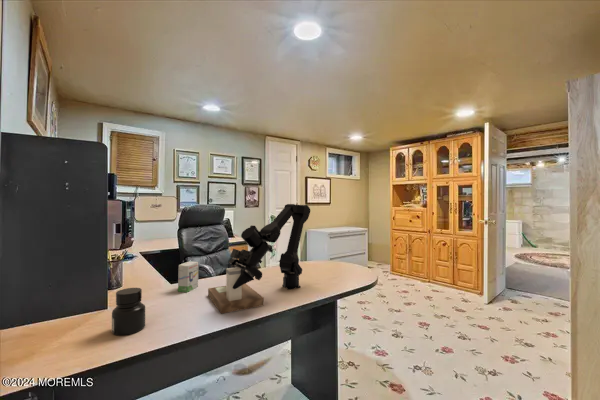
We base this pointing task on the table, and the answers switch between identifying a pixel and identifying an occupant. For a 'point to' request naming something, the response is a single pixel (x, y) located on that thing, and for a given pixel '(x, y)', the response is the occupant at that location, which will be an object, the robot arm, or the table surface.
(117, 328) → the ink bottle
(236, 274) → the plug
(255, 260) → the robot arm
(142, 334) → the table surface
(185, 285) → the ink box
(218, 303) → the board
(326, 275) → the table surface
